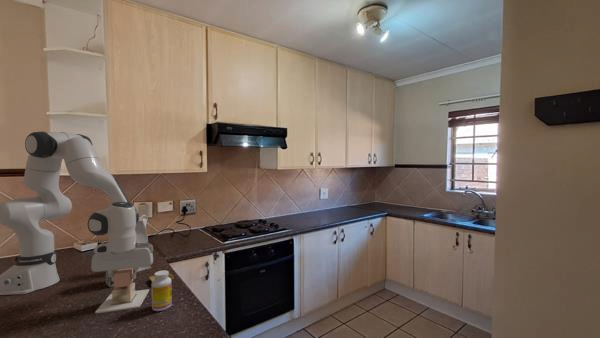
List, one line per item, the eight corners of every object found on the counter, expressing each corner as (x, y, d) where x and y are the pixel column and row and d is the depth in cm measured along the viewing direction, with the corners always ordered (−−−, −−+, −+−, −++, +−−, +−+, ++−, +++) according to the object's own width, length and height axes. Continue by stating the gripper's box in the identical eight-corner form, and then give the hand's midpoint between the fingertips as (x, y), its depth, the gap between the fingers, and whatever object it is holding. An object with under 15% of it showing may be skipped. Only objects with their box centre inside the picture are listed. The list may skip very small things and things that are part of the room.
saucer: (169, 276, 129) (169, 271, 129) (174, 282, 123) (174, 277, 123) (148, 281, 124) (148, 276, 123) (153, 287, 117) (153, 283, 117)
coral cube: (114, 287, 102) (113, 274, 102) (118, 282, 106) (118, 269, 106) (129, 285, 103) (128, 272, 103) (133, 280, 108) (133, 268, 108)
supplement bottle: (173, 308, 99) (172, 273, 99) (152, 314, 96) (152, 278, 96) (170, 300, 105) (170, 267, 105) (151, 305, 101) (150, 271, 101)
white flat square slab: (95, 313, 96) (95, 311, 96) (110, 295, 110) (110, 293, 110) (139, 307, 100) (139, 305, 100) (149, 290, 114) (149, 289, 114)
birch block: (112, 304, 101) (112, 291, 101) (117, 297, 107) (117, 284, 107) (130, 302, 103) (130, 289, 103) (135, 294, 109) (134, 282, 108)
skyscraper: (153, 269, 138) (152, 214, 137) (135, 274, 132) (134, 216, 131) (147, 265, 144) (146, 212, 143) (129, 269, 137) (128, 214, 137)
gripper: (154, 239, 110) (155, 273, 111) (96, 244, 105) (97, 279, 105) (151, 244, 104) (151, 279, 105) (88, 249, 99) (89, 286, 99)
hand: (123, 279), depth 105 cm, fingers closed on coral cube, 5 cm apart
